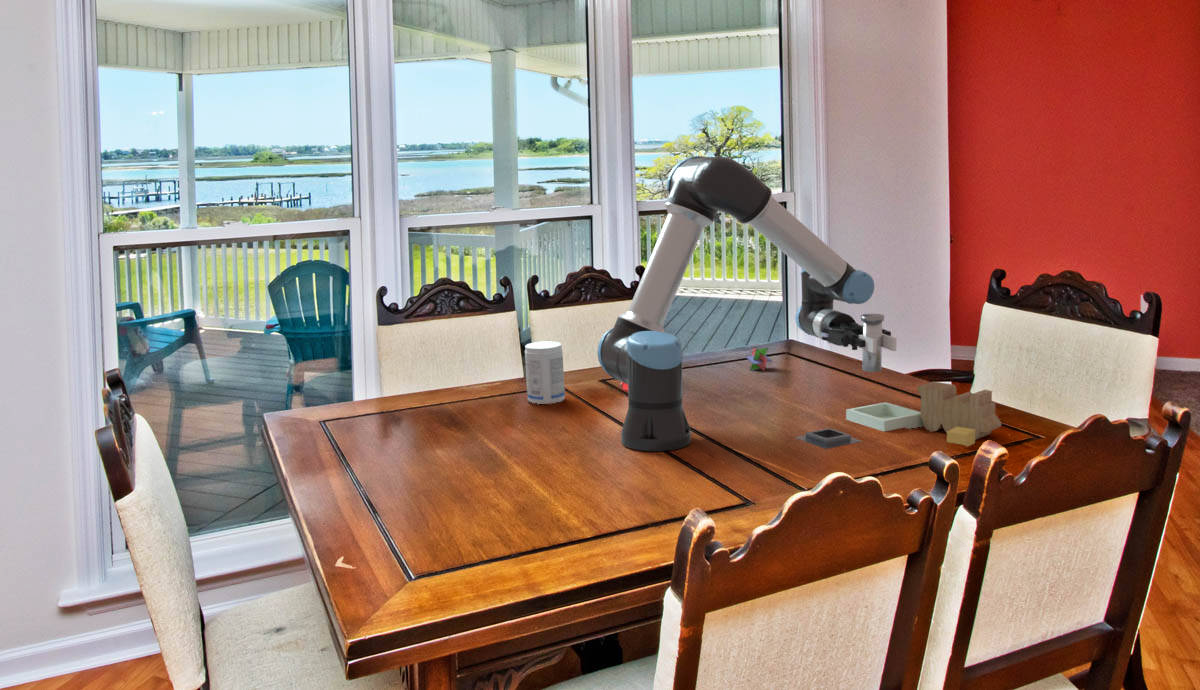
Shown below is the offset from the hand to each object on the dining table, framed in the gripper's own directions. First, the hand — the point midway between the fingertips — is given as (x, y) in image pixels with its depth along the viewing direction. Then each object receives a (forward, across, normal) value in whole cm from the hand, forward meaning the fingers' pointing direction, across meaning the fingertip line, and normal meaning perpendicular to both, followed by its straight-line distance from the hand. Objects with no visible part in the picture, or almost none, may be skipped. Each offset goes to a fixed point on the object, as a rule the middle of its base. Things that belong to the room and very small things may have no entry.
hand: (884, 345), depth 214 cm
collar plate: (0, +13, -20) cm, 24 cm away
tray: (-9, -5, -20) cm, 23 cm away
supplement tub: (-56, +64, -20) cm, 87 cm away
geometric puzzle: (-72, 0, -21) cm, 75 cm away
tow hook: (-61, +38, -20) cm, 75 cm away
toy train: (+2, -17, -21) cm, 27 cm away
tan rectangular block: (+9, -13, -20) cm, 26 cm away
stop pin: (-5, 0, -6) cm, 8 cm away
